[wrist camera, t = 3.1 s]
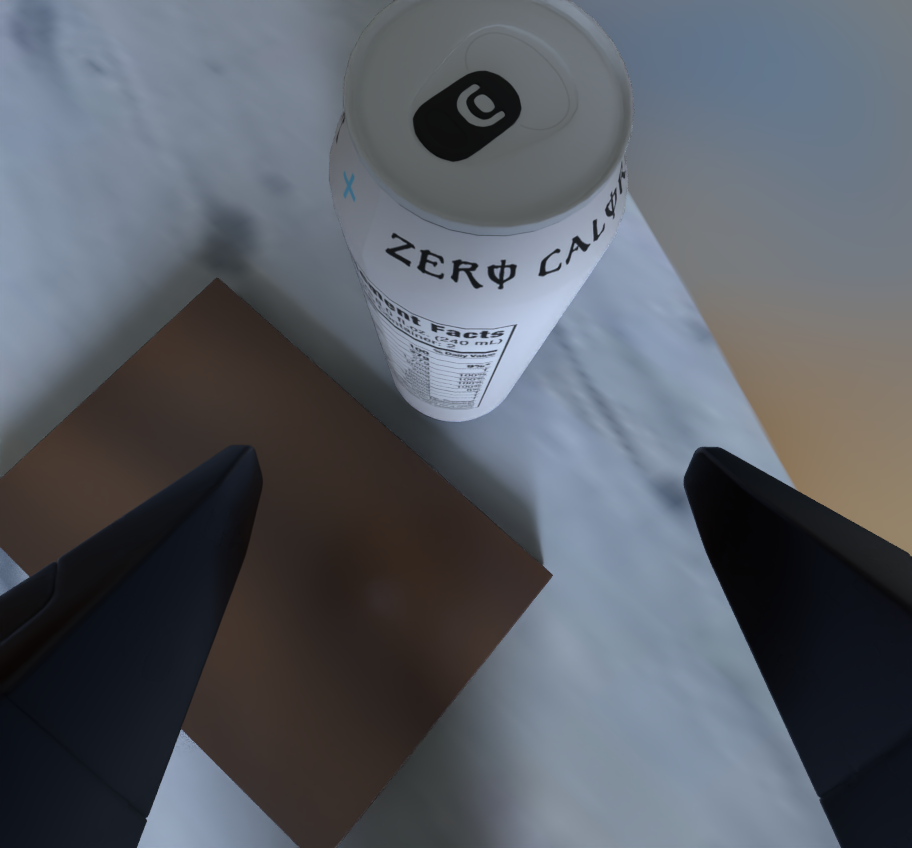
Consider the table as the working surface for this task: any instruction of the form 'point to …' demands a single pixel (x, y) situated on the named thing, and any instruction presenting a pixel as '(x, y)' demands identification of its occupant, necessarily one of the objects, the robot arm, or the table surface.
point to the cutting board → (289, 559)
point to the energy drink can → (477, 185)
